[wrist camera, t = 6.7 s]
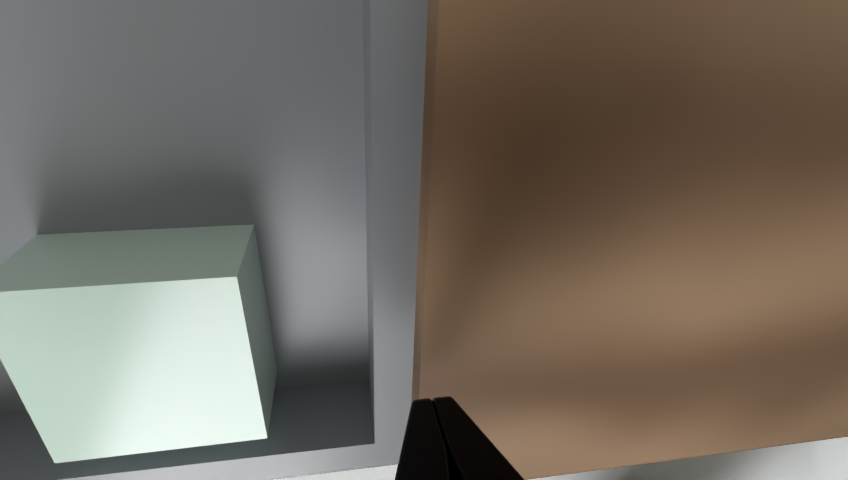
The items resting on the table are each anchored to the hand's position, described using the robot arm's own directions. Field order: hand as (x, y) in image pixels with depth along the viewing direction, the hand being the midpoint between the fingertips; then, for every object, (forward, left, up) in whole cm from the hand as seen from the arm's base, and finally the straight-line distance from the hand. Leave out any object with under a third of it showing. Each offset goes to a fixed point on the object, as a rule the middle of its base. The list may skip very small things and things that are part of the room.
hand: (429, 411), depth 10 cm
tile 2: (0, +6, -2) cm, 7 cm away
